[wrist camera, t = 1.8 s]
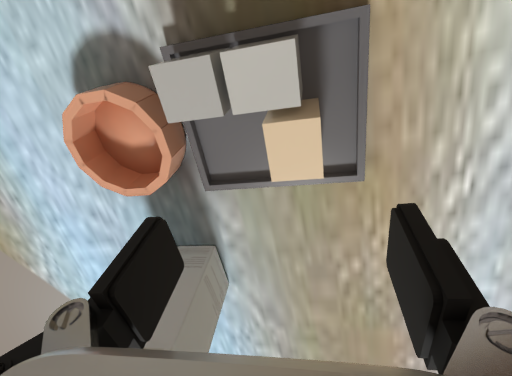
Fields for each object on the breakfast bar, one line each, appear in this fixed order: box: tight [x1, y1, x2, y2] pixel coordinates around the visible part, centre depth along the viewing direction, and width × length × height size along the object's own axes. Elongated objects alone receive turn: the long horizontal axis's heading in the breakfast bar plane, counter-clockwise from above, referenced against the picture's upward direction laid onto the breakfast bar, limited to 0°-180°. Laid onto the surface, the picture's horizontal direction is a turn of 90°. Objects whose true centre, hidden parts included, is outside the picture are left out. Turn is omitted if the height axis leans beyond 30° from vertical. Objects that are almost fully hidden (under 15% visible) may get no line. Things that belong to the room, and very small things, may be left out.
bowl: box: [62, 82, 186, 196], centre depth 25 cm, size 10×10×4 cm
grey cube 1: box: [220, 34, 303, 115], centre depth 19 cm, size 4×4×5 cm
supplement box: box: [143, 246, 229, 353], centre depth 30 cm, size 7×7×13 cm
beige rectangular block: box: [262, 98, 324, 182], centre depth 21 cm, size 4×4×5 cm
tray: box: [160, 4, 370, 191], centre depth 23 cm, size 15×13×1 cm
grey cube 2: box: [148, 47, 231, 123], centre depth 20 cm, size 4×4×5 cm
